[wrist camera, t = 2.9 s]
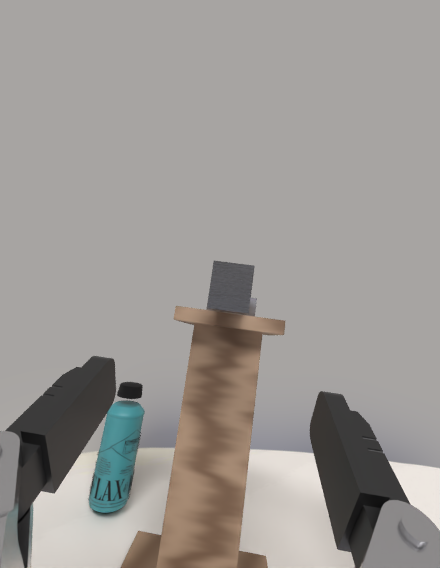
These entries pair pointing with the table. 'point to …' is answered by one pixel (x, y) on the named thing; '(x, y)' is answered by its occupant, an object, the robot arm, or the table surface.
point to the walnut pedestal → (210, 447)
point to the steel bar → (230, 288)
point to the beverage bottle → (117, 451)
